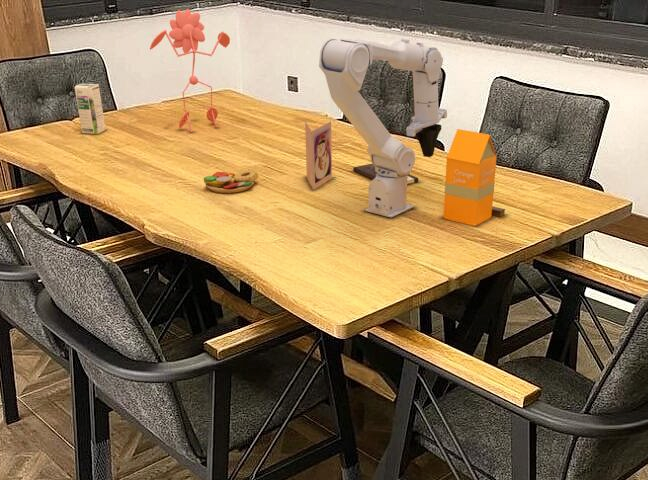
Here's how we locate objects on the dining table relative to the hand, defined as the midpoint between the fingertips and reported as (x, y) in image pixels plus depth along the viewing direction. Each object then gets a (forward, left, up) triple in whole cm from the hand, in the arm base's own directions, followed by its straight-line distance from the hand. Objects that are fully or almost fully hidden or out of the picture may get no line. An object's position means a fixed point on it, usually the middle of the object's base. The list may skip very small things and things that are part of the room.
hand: (428, 155), depth 205 cm
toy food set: (-24, +46, -11) cm, 53 cm away
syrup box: (-11, +123, -11) cm, 124 cm away
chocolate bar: (+8, +19, -11) cm, 23 cm away
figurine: (+14, +102, -11) cm, 103 cm away
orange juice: (-6, -16, -11) cm, 20 cm away
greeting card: (-8, +31, -11) cm, 34 cm away
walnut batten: (0, -16, -11) cm, 19 cm away
